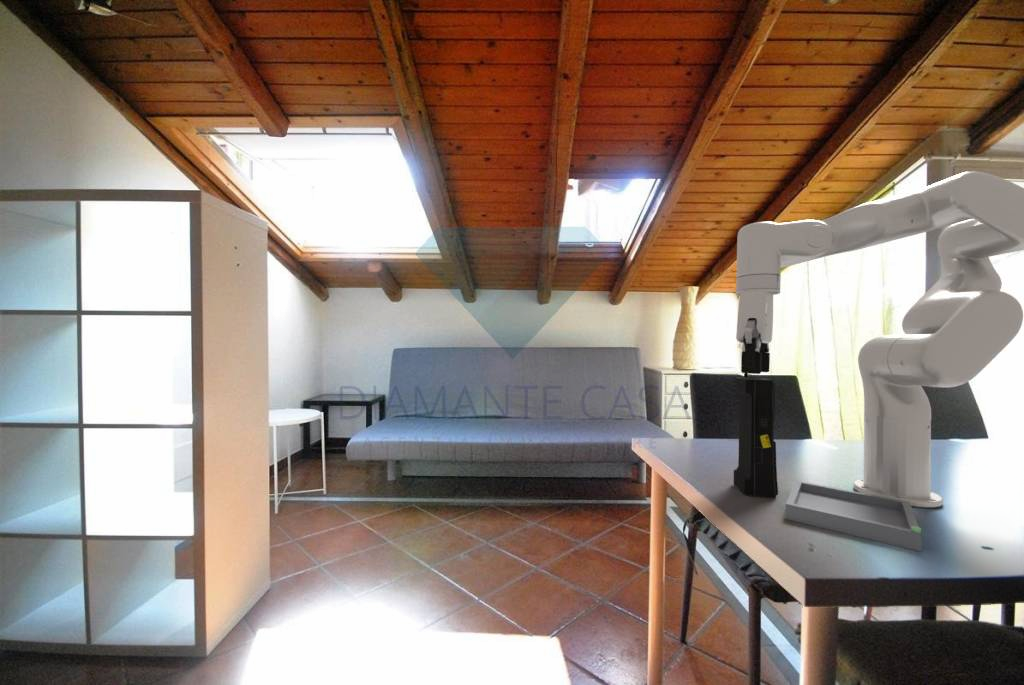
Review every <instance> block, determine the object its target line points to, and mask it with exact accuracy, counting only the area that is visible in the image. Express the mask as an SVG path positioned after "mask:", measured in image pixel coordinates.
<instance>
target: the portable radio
mask: <svg viewBox="0 0 1024 685" xmlns="http://www.w3.org/2000/svg"><path fill="white" fill-rule="evenodd" d="M775 387H776V386H775V382H774V380H773V379H770V378H764V377H758V376H757V377H756V376H755V377H753V376H749V373H743V376H739V377H734V390H735V391H738V394H739V395H738V396H739V397H738V398H739V399H738V462H737V464H738V465H737V468H735V469H734V470H733V485H734V487H735V488H736V489H737V490H738V491H740V493H741V494H743V495H745V496H748V497H749V496H750V497H759V498H769V499H776V498H777V496H778V495H779V487H778V486H779V485H778V473H777V472H778V471H777V470H778V468H777V443H776V441H774V440H775V439H774V438H775V437H774V433H775V432H774V431H775V430H774V428H775V427H774V423H775V416H776V414H775V402H776V401H775V395H776V394H775V390H776V388H775Z"/></svg>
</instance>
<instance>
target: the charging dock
mask: <svg viewBox="0 0 1024 685" xmlns="http://www.w3.org/2000/svg"><path fill="white" fill-rule="evenodd" d="M912 507H913V506H911V505H910V502H908V501H902V500H897V499H892V498H886V497H881V496H876V495H870V494H865V493H860V492H858V491H853V490H849V489H843V488H837V487H832V486H826V485H822V484H817V483H812V482H808V481H807V482H805V481H801V480H795V481H794V484H793V486H792V488H791V491H790V494H789V495H788V498H787V500H786V503H785V520H789V521H792V522H797V523H801V524H805V525H810V526H813V527H818V528H821V529H826V530H831V531H834V532H839V533H843V534H847V535H851V536H855V537H858V538H864V539H868V540H872V541H875V542H880V543H884V544H888V545H892V546H897V547H901V548H904V549H908V550H913V551H916V552H922V528H921V527H920V526H919V523H918V521H917V518H916V515H915V512H914V510H913V508H912Z"/></svg>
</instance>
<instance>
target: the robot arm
mask: <svg viewBox="0 0 1024 685" xmlns="http://www.w3.org/2000/svg"><path fill="white" fill-rule="evenodd" d="M941 228H945V229H944V230H943V231H942V232H941V234H940V235H939V237H938V240H937V247H936V248H937V251H938V255H939V259H940V260H941V266H942V273H941V276H940V278H938V280H937V281H936V282H935V283H934V284H933V285H932V286H931V287H930V288H929V289H928V290H927V291H926V292H925V293H924V294H923V295H922V297H921V298H919V299H918V300H917V301H916V302H915V303H914V304H913V305H912V306H911V307H910V308H909V309H908V311H907V312H906V314H905V315H904V316H903V319H902V323H901V327H902V330H903V332H904V334H890V335H889V334H886V335H882V336H877V337H875V338H872V339H870V340H868V341H867V342H865V344H864V345H863V346H862V347H861V348H860V350H859V353H858V357H857V362H858V363H857V364H858V369H859V373H860V377H861V380H862V381H861V382H862V388H863V399H864V400H863V402H864V403H863V404H864V405H863V406H864V408H863V411H864V412H863V478H861V479H856V480H854V481H853V488H854V489H855V491H856V492H860V493H865V494H870V495H876V496H881V497H886V498H892V499H897V500H902V501H908V502H910V505H911V507H917V508H939V507H941V506H942V505H943V502H944V499H943V497H941V496H940V495H939V494H937V493H935V492H933V491H931V479H932V478H931V476H932V475H931V469H932V468H931V467H932V466H931V464H932V463H931V461H932V460H931V455H932V452H931V451H932V448H931V444H932V443H931V442H932V441H931V440H932V406H931V404H930V400H929V398H928V395H927V394H926V392H925V390H924V388H923V387H929V388H955V387H958V386H963V385H964V384H966V383H968V382H969V381H972V379H974V378H975V377H977V376H978V375H979V373H981V372H982V371H983V370H984V369H985V368H986V366H988V365H989V364H990V363H991V362H992V361H993V360H994V359H995V358H996V357H997V356H998V355H999V354H1000V353H1001V352H1002V351H1003V350H1005V348H1006V347H1007V346H1008V345H1009V344H1010V343H1011V342H1012V341H1013V340H1014V338H1016V336H1017V335H1018V333H1019V332H1020V329H1021V327H1022V326H1023V321H1024V310H1023V306H1022V305H1021V303H1020V301H1019V300H1018V299H1017V298H1016V297H1014V296H1013V295H1011V294H1009V293H1007V292H1005V291H1001V288H1002V284H1003V283H1002V282H1003V281H1002V278H1001V276H1000V275H999V274H998V272H997V271H996V269H995V268H994V266H993V263H992V261H991V259H990V257H994V256H1000V255H1004V254H1010V253H1014V252H1020V251H1024V187H1023V186H1020V185H1018V184H1016V183H1014V182H1012V181H1010V180H1007V179H1005V178H1002V177H1000V176H997V175H994V174H991V173H987V172H984V171H983V172H982V171H973V170H972V171H965V172H961V173H959V174H956V175H953V176H950V177H948V178H946V179H943V180H940V181H938V182H935V183H932V184H931V185H928V186H925V187H922V188H918V189H915V190H912V191H908V192H904V193H900V194H897V195H893V196H889V197H886V198H881V199H876V200H874V201H870V202H865V203H862V204H860V205H858V206H855V207H852V208H848V209H846V210H844V211H842V212H840V213H837V214H835V215H833V216H831V217H828V218H826V219H822V220H815V219H804V220H797V221H790V222H780V223H777V222H773V221H757V222H753V223H752V222H751V223H748V224H746V225H744V226H742V227H741V228H740V229H739V230H738V232H737V237H736V238H737V241H736V245H737V246H736V282H735V283H736V285H735V286H736V288H735V295H736V296H739V301H738V309H737V320H736V321H737V323H736V336H735V337H736V338H735V339H736V341H737V342H738V343H739V344H740V343H741V344H742V345H741V347H742V348H741V358H740V359H741V360H740V361H741V364H740V365H741V366H740V372H741V373H742V374H745V373H747V374H754V375H756V374H757V375H760V374H761V373H769V372H770V362H771V361H770V357H771V356H770V355H771V354H770V345H769V343H771V342H772V340H773V329H774V328H773V326H774V325H773V324H774V296H776V295H779V294H781V278H782V277H781V274H782V272H781V271H782V268H787V267H789V266H794V265H799V264H801V263H802V264H803V263H806V262H810V261H813V260H818V259H821V258H825V257H829V256H833V255H838V254H842V253H843V254H845V253H849V252H853V251H854V252H855V251H859V250H862V249H867V248H869V247H873V246H877V245H881V244H885V243H889V242H893V241H896V240H900V239H905V238H907V237H911V236H915V235H916V236H917V235H920V234H923V233H927V232H931V231H934V230H937V229H941Z"/></svg>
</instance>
